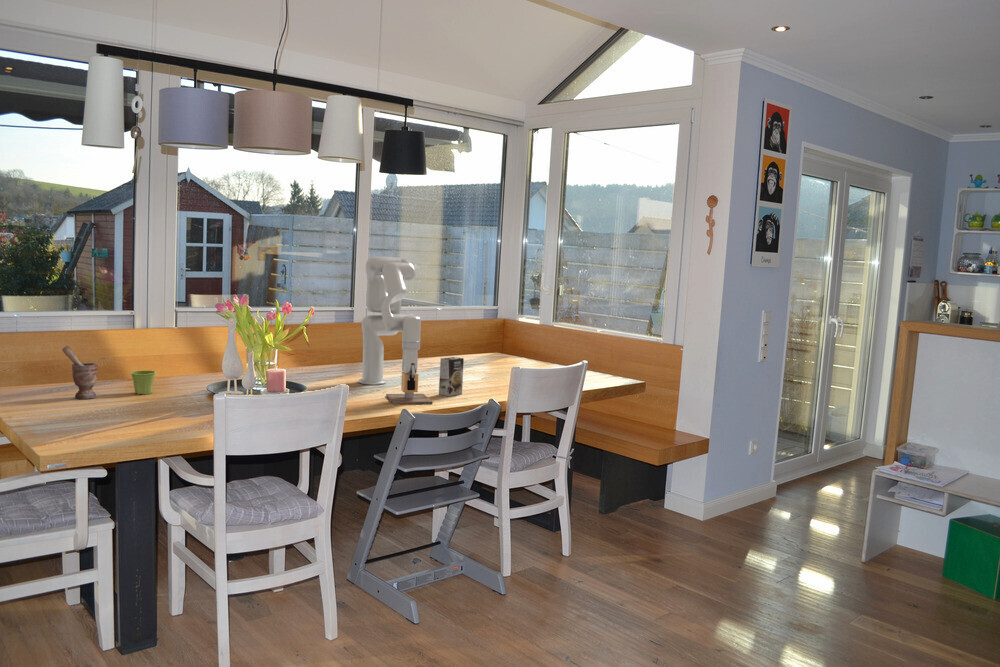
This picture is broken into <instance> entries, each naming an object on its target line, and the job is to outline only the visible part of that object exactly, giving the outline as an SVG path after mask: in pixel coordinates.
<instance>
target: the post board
mask: <svg viewBox="0 0 1000 667" xmlns="http://www.w3.org/2000/svg"><path fill="white" fill-rule="evenodd" d="M385 396H386V398H387V399H388V400H389V401H390V403H391V404H392V405H393V406H398V405H399V406H400V405H403V406H405V405H406V406H407V405H409V406H410V405H411V406H412V405H413V406H414V405H433V401H432V400H431V399H430V398H429V397H428V396H427V395H425V394H424V393H415V392H404V393H386V394H385Z"/></svg>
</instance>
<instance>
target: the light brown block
mask: <svg viewBox="0 0 1000 667" xmlns="http://www.w3.org/2000/svg"><path fill="white" fill-rule="evenodd" d="M409 373H412V372H409ZM407 380H408V373H407V374H406V373H404V372H403V371H402V372H401V384H400V385H401V388H400V390H401V391H402V392H403V393H405V392H414V393H418V392H419V373H418V372H417V373H416V374H415V390H407Z"/></svg>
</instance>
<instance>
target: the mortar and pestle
mask: <svg viewBox="0 0 1000 667" xmlns="http://www.w3.org/2000/svg"><path fill="white" fill-rule="evenodd" d="M62 352H63V353H64V355H65V356H66V357H68V358H67V359H70V361H71V362H72V363H73V364H72V365H71V370H72V379H73V382H74V385H75V386H76V387H78V391H77V392H76V393H75V396H74V399H76V398H80V399H79V400H88V399H89V398H92V399H96V398H97V393H96V392H95V391H94V390H93V387H94V385H96V383H97V380H98V363H97V362H81V361H80V360H79V359H78V357H77V355H76V354H75V352H74V351H73V349H72V348H71V347H70V346H69V345H67V346H66V345H65V347H63V348H62ZM95 397H96V398H95ZM89 400H90V399H89Z"/></svg>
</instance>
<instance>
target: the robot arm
mask: <svg viewBox="0 0 1000 667" xmlns="http://www.w3.org/2000/svg"><path fill="white" fill-rule="evenodd" d="M365 274H366V278H367V291H366V310H368V312H370V313H371V312H372V313H379V314H369V315H366V316H364V317H363V318H362V320H361V332H362V365H361V366H362V371H361V378H359V379H358V383H360V384H361V385H362V384H363V385H371V386H372V385H373V386H374V385H375V386H376V385H385V384H387V380H386V379H385V378H384V354H385V352H384V350H385V346H384V342H383V340H382V339H381V338H380V337H381V336H395V335H397V334H398V333H399V332H401V334H402V335H401V350H402V361H401V371H402V372H404V373H406V374H407V373H408V380H407V390H415V374H416V373H418V364H419V363H418V358H419V357H418V355H419V354H418V351H419V350H420V349H421V332H422V331H421V330H422V329H421V328H422V327H421V326H422V318H421V317H420V316H417V315H415V314H412V313H401V311H402V300H403V299H405V297H407V295H408V289H407V286H406V282H407V283H409V282H410V283H411V282H413V281H414V280H415V278H416V269H415V267H414V265H413V264H412V263H411V261H409V260H407V259H405V258H403V257H400V256H399V257H397V256H396V257H395V256H372V257H371V256H370V257H369V258H367V260H366V263H365ZM409 372H412V373H409Z"/></svg>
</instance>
